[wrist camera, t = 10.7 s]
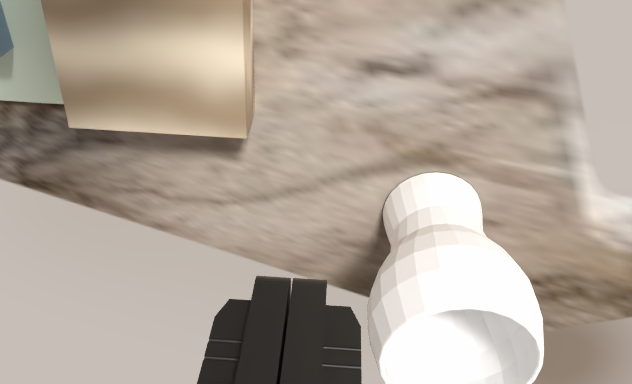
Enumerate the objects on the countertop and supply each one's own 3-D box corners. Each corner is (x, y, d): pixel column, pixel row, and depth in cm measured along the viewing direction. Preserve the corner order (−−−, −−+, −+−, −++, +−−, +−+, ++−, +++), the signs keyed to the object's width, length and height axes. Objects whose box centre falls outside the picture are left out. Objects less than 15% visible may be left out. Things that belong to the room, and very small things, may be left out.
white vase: (522, 174, 44) (589, 322, 32) (468, 274, 50) (506, 432, 37) (388, 140, 43) (403, 279, 31) (349, 247, 49) (347, 400, 36)
